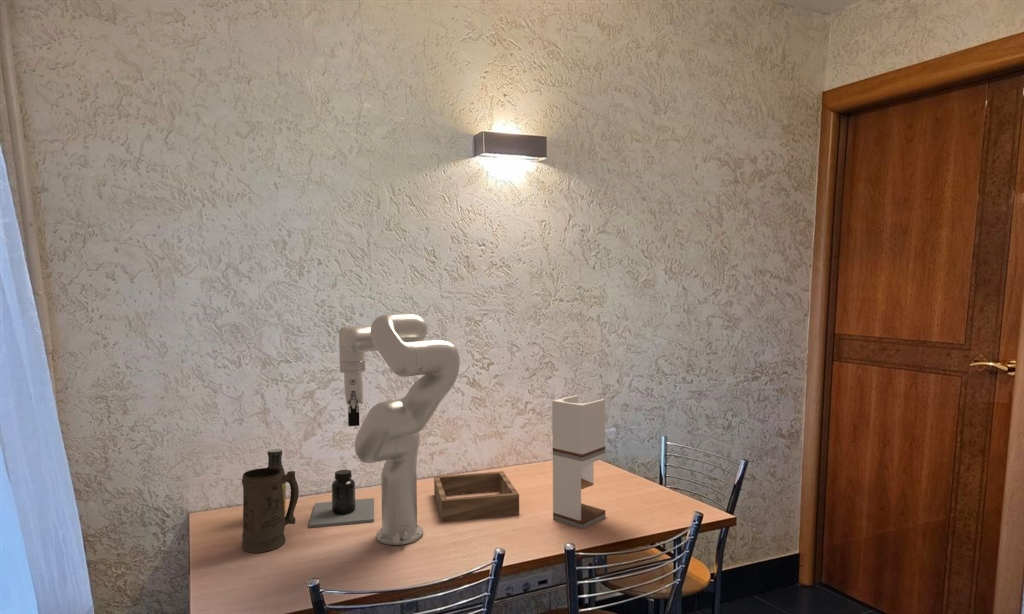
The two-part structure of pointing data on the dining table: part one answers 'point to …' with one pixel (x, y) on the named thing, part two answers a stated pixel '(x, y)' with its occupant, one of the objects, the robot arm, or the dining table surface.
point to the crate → (478, 504)
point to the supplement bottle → (343, 493)
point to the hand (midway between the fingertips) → (353, 422)
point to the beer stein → (266, 508)
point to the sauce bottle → (275, 462)
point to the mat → (327, 518)
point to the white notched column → (576, 457)
